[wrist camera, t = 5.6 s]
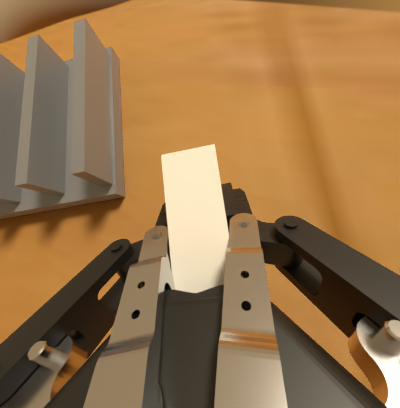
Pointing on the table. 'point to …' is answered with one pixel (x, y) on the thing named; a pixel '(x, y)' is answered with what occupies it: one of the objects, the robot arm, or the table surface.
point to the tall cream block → (195, 218)
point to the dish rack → (60, 127)
